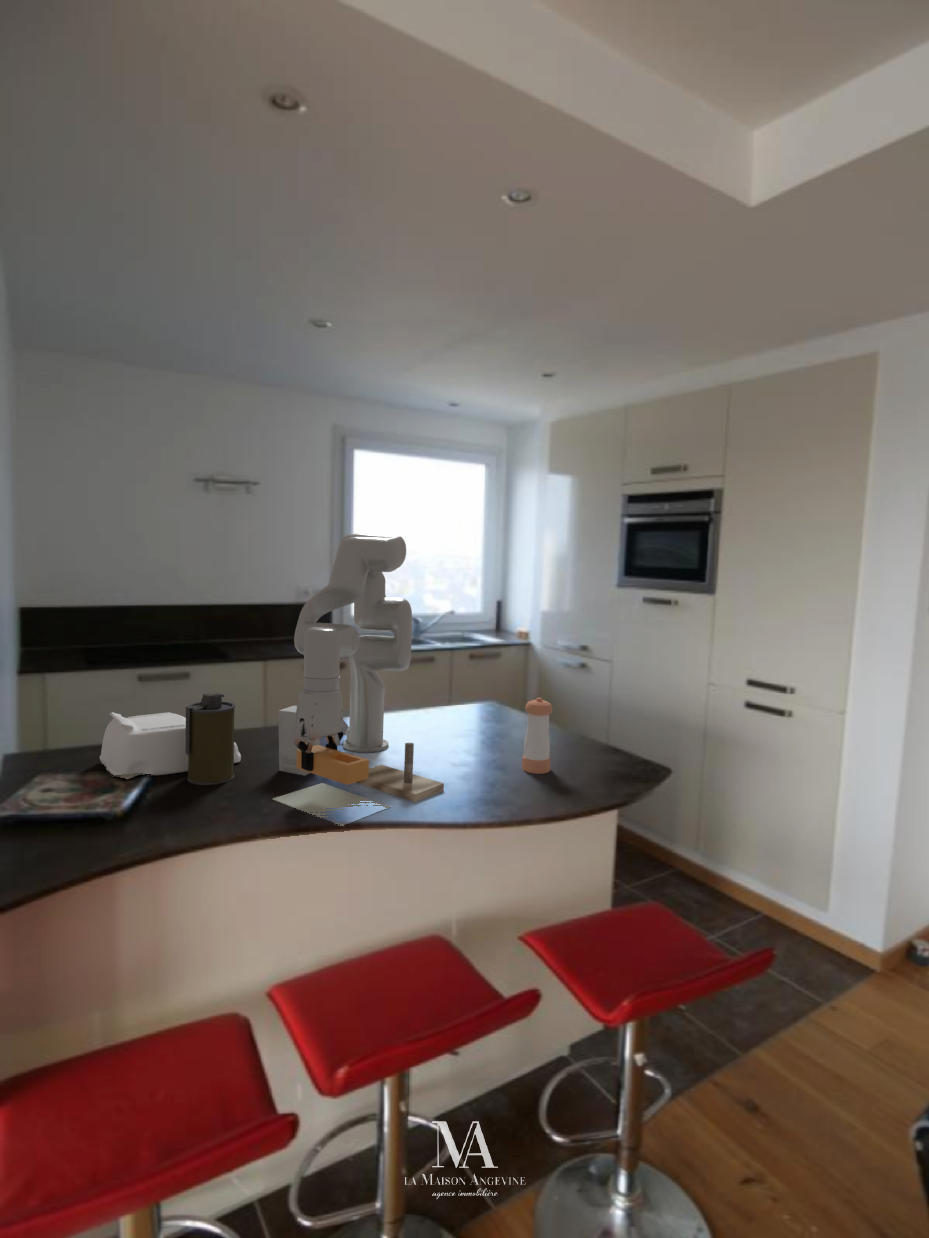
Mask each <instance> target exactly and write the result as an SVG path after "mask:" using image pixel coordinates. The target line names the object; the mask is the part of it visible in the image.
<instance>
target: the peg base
mask: <svg viewBox="0 0 929 1238" xmlns="http://www.w3.org/2000/svg"><path fill="white" fill-rule="evenodd" d="M414 747H415V743H414V742H405V743H404V768H403V769H404V770H401V769H398V768H394V767H391V766H387V765H385V764H379V765H376V766H372V767H369V778H367V779H364V780H361V781H358V782H355V783H356V784H358V785H362V786H364V787H368V788H371V789H375V790H377V791H380V792H384V793H387V794H389V795H393V796H395V797H399V798H402V799H404V800H408V801H411V802H414V803H416V802H419V801H421V800H424V799H425V798H429V797H431V796H433V795H436V794H438V793H441V792H444V789H445V783H444V782H441V781H438V780H434V779H431V778H427V777H424V776H420V775H417V774H414V753H415V752H414V751H415V750H414V749H415V748H414Z"/></svg>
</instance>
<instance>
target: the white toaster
mask: <svg viewBox="0 0 929 1238" xmlns="http://www.w3.org/2000/svg"><path fill="white" fill-rule="evenodd" d="M109 715H110V716H111V718H112V720H111V721H110V722H109V723H108V724H107V726H106V728H105V732H104V735H103V739H102V745H101V752H100V755H99V760H100V762H101V764H102V765H104V767H106V768H105V769H106V771H107V772H109V773H110V775H111V774H113V775H122V774H133V773H149V774H151V775H150V776H164V775H170V774H177V773H179V774H180V773H184V772H185V773H186V772H188V755H187V754H186V716H183V715H180V714H177V713H172V712H169V711H168V712H161V713H151V714H143V715H135V716H133V715H132V716H128V717H124V716H122V714H121V713H116V712H114V711H110V712H109ZM241 759H242V755H241V753H240V751H239V747H238V744H237V743H236V742H235V741H234V764H237V763H240V762H241Z"/></svg>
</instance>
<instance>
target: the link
mask: <svg viewBox="0 0 929 1238" xmlns="http://www.w3.org/2000/svg"><path fill="white" fill-rule="evenodd" d="M301 752H302V751H300V750H297V767H296V768H298V769H301V770H304V771H307V772H310V774H313V775H316V776H319V777H322V778H326V779H328V780H331V781H335V782H338V783H340V784H343V785H346V786H348V785H352V784H355V783H356V782H358V781H361V780H364V779H367V778H369V768H370V759H368V758H364V757H362V756H358V755H355V754H350V753H348V752H345V751H341V750H338V749H337V750H334V749H330V748H327V747H325V746H324V745H321V744H320V745H316V746H313V747H312V751H311V752H313V753H314V755H313V770H312V771H308V770H305V769H302V768H301Z"/></svg>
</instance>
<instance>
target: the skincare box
mask: <svg viewBox="0 0 929 1238" xmlns="http://www.w3.org/2000/svg"><path fill="white" fill-rule="evenodd" d="M296 710H297V705H291V706H288V707H286V708H282V709H279V710H278V713H277V714H278V715H277V716H278V763H279V765H278V766H279V769H278V770H279V771H280V772H285V773H289V774H293V775H294V774H295V775H299V776H304V777H305V776H307V775H310V774H311V773H310V772H307V771H304V770H301V769H298V768H296V767H297V750H299V748H298V747H297V746H296V745H295V744H294V743H293V742H292V741H291V740H290V736H291V735H292V733H293V732H294V730H295V720H296ZM300 739H302V736H300ZM308 741H309V740H307V743H306V745H307V744H308ZM316 745H321V738H318V739H315V741H314V744H313V746H316Z"/></svg>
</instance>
